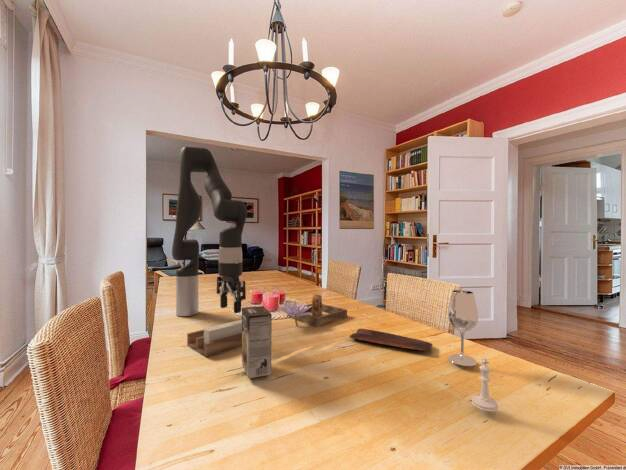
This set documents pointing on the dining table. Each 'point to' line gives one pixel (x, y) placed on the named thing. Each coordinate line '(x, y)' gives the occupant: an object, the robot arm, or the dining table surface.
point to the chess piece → (484, 391)
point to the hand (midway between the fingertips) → (230, 310)
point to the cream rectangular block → (222, 331)
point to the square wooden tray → (333, 316)
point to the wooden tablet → (391, 339)
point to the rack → (212, 343)
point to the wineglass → (462, 321)
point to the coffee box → (256, 341)
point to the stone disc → (317, 305)
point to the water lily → (295, 310)
